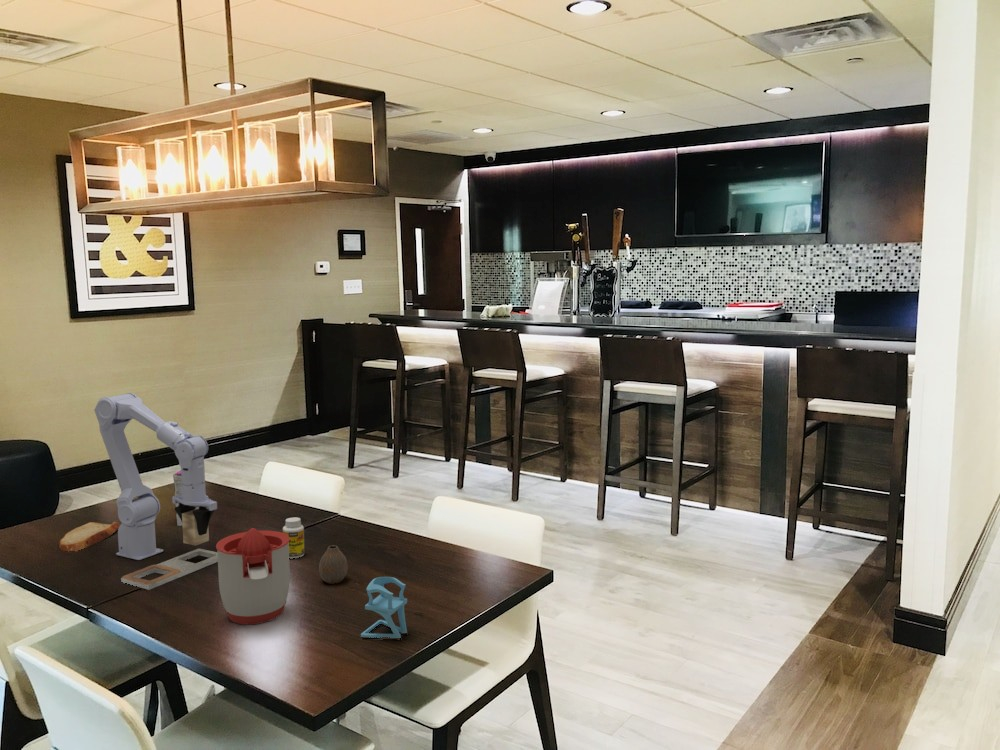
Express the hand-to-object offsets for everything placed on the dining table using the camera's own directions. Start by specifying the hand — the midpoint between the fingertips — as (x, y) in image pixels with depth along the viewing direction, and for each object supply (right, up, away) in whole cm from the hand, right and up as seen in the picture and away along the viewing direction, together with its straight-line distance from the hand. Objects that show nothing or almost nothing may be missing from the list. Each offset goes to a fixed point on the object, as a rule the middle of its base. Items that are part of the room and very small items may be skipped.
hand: (195, 532), depth 206 cm
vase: (+39, -10, -12) cm, 42 cm away
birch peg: (0, -2, 0) cm, 2 cm away
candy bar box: (-16, -4, +36) cm, 39 cm away
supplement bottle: (+25, -8, +5) cm, 26 cm away
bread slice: (-38, -6, +20) cm, 43 cm away
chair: (+57, -13, -42) cm, 71 cm away
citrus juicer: (+26, -12, -33) cm, 44 cm away
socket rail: (-3, -9, -5) cm, 11 cm away
